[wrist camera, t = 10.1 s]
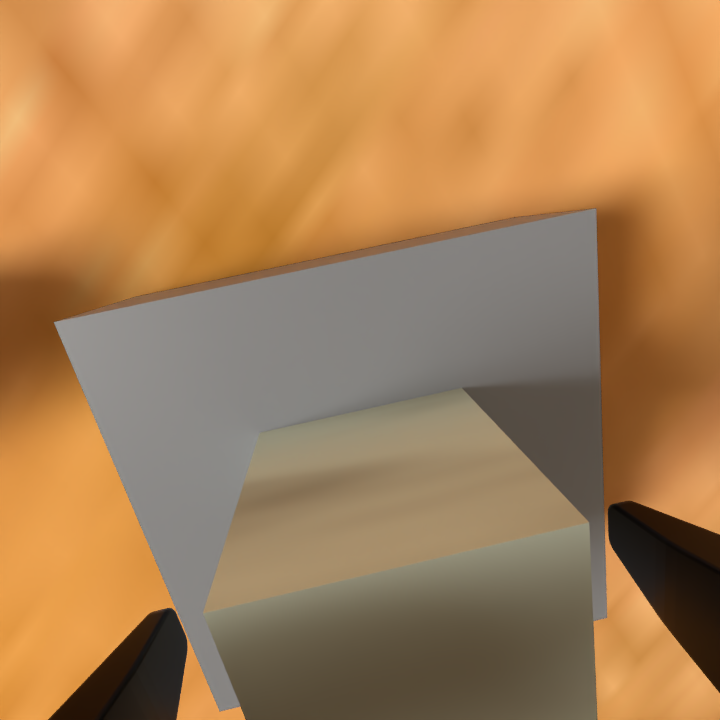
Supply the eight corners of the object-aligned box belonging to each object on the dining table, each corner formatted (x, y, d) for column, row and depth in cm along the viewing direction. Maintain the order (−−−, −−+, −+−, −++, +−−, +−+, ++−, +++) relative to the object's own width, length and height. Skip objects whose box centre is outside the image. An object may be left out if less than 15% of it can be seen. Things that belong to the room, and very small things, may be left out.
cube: (483, 552, 12) (599, 774, 7) (307, 593, 11) (298, 851, 7) (461, 387, 10) (588, 522, 5) (259, 433, 10) (202, 613, 5)
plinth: (540, 529, 16) (607, 617, 13) (243, 599, 16) (219, 711, 12) (515, 217, 13) (596, 208, 9) (134, 297, 13) (53, 322, 9)
